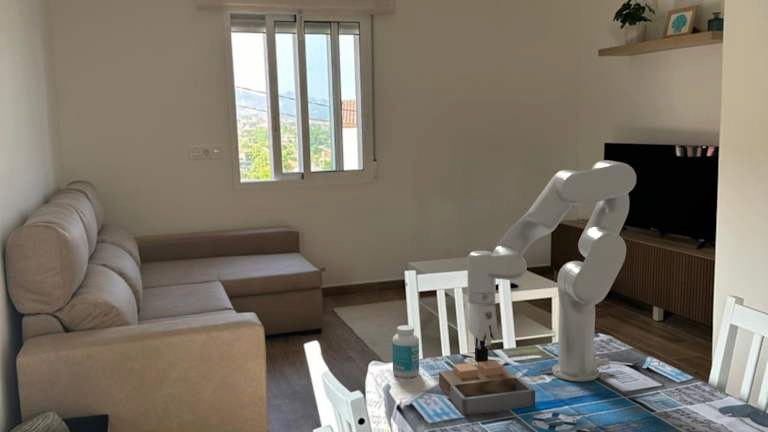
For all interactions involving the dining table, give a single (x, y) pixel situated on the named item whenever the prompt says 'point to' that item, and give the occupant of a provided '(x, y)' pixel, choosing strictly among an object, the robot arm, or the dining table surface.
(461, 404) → the tray
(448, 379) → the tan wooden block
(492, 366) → the tile
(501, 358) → the dining table surface
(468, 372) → the tile
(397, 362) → the pill bottle
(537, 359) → the dining table surface
